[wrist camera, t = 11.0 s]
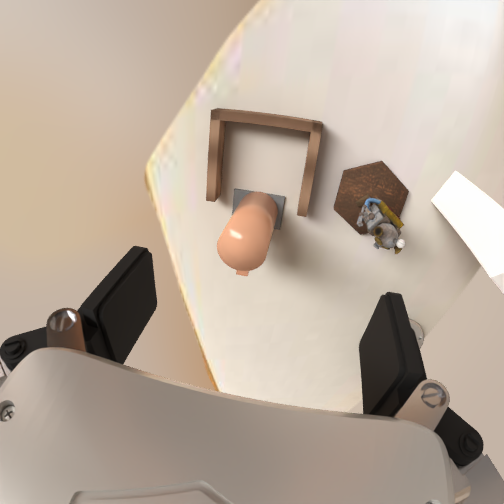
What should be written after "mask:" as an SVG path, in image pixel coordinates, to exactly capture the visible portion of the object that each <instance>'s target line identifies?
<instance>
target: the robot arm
mask: <svg viewBox="0 0 504 504" xmlns="http://www.w3.org/2000/svg"><path fill="white" fill-rule="evenodd" d="M156 307H157V297H156V289H155V280H154V271H153V260H152V254H151V253H150V252H149V251H148V249H147V248H143V247H139V246H133V247H132V248H131V249H130V250H129V251H128V253H127V254H126V255H125V256H124V257H123V258H122V259H121V260H120V261H119V262H118V263H117V265H116V266H115V267H114V268H113V269H112V270H111V271H110V272H109V274H108V275H107V276H106V277H105V278H104V279H103V280H102V282H101V283H100V284H99V285H98V286H97V287H96V288H95V290H94V291H93V292H92V293H91V294H90V296H89V297H88V298H87V299H86V300H85V301H84V303H83V304H82V305H81V307H80V308H79V309H78V311H76V310H74V309H72V308H62V309H59V310H57V311H55V312H53V313H52V314H51V315H50V316H49V318H48V320H47V324H46V327H43V328H39V329H36V330H33V331H29V332H26V333H22V334H19V335H15V336H12V337H10V338H8V339H7V340H5V341H4V343H3V344H2V346H1V348H0V504H503V503H504V481H503V479H502V477H501V476H500V474H499V472H498V471H497V469H496V468H495V466H494V464H493V463H492V461H491V460H490V458H489V457H488V455H487V454H486V455H485V456H484V455H483V454H482V451H483V440H482V438H481V436H480V434H479V433H478V432H477V431H476V430H475V429H474V428H473V427H471V426H470V425H469V424H468V423H467V422H465V421H464V420H463V419H462V418H461V417H460V416H458V415H457V414H456V413H455V412H454V411H452V410H451V409H450V408H449V407H448V405H449V402H450V397H449V393H448V391H447V389H446V388H445V386H443V385H442V384H441V383H440V382H438V381H436V380H432V379H428V380H427V378H426V373H425V369H424V365H423V361H422V357H421V353H420V348H421V346H422V344H423V341H424V335H423V331H422V328H421V327H420V325H419V324H418V323H416V322H415V321H413V320H410V319H409V318H408V314H407V311H406V308H405V304H404V301H403V298H402V295H401V294H398V293H392V292H387V293H386V294H385V295H382V296H381V297H380V299H379V302H378V304H377V306H376V309H375V311H374V313H373V315H372V317H371V320H370V322H369V324H368V326H367V328H366V330H365V332H364V334H363V337H362V339H361V341H360V345H359V354H360V365H361V379H362V395H363V414H357V413H347V412H338V411H329V410H320V409H312V408H304V407H297V406H291V405H284V404H278V403H272V402H267V401H261V400H256V399H251V398H246V397H241V396H236V395H231V394H227V393H222V392H218V391H214V390H209V389H205V388H201V387H197V386H193V385H190V384H186V383H182V382H178V381H175V380H171V379H168V378H164V377H161V376H158V375H154V374H151V373H148V372H144V371H141V370H138V369H135V368H131V367H129V366H126V365H123V364H124V362H125V360H126V358H127V356H128V355H129V353H130V352H131V350H132V348H133V346H134V344H135V343H136V341H137V340H138V338H139V336H140V335H141V333H142V331H143V330H144V328H145V326H146V324H147V323H148V321H149V320H150V318H151V316H152V314H153V313H154V311H155V310H156Z"/></svg>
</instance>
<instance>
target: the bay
mask: <svg viewBox="0 0 504 504" xmlns="http://www.w3.org/2000/svg"><path fill="white" fill-rule="evenodd" d="M226 121H233V122H243V123H252V124H260V125H268V126H275V127H282V128H289V129H295V130H301V131H307V132H310V138H309V144H308V151H307V157H306V163H305V169H304V175H303V181H302V187H301V193H300V199H299V204H298V212H297V215H298V216H304V217H306V215H307V210H308V205H309V200H310V194H311V189H312V184H313V178H314V172H315V167H316V161H317V155H318V149H319V143H320V137H321V131H322V125H323V124H322V122H320V121H315V120H309V119H303V118H297V117H290V116H284V115H276V114H269V113H261V112H252V111H243V110H232V109H220V108H217V109H214V110H211V120H210V135H209V152H208V171H207V193H206V201H212V202H215V201H216V200H217V198H218V197H219V196H220V192H221V176H222V161H223V147H224V134H225V122H226Z"/></svg>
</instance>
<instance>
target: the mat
mask: <svg viewBox="0 0 504 504" xmlns="http://www.w3.org/2000/svg"><path fill="white" fill-rule="evenodd" d="M251 192H254V191H247V190H241V189H234V199H233V212H232V215H233V213H234V211H235V210H236V208H237V206H238V205H239V203H240V201H241V200H242V198H243V197H244V196H245V195H247V194H249V193H251ZM265 194H266V193H265ZM267 195H269V196H270V197H272V198H273V200H274V201H275V203H276V205H277V208H278V214H277V218H276V222H275V225H274V229H278V230H280V225H281V219H282V212H283V206H284V199H285V197H284V196H279V195H273V194H267Z"/></svg>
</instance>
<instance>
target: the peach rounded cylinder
mask: <svg viewBox="0 0 504 504" xmlns="http://www.w3.org/2000/svg"><path fill="white" fill-rule="evenodd" d="M277 214H278V208H277V205H276V203H275V201H274V200H273V198H272V197H270V196H269V195H267V194H265V193H263V192H251V193H249V194H247V195H245V196H244V197H243V198H242V200H241V201H240V203H239V205H238V206H237V208H236V210H235V211H234V213H233V215H232V217H231V218H230V220H229V222H228V223H227V225H226V227H225V229H224V230H223V232H222V234H221V236H220V237H219V239H218V243H217V250H218V254H219V256H220V258H221V259H222V260H223V262H224V263H225V264H227V265H228V266H229V267H231V268H233V269H236V270H237V272H236V274H238V275H243V276H248V273H249V271H250V270H254V269H256V268H258V267H259V266H260V265H262V263H263V262H264V260H265V258H266V255H267V251H268V248H269V244H270V240H271V237H272V233H273V229H274V225H275V222H276V218H277Z"/></svg>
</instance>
